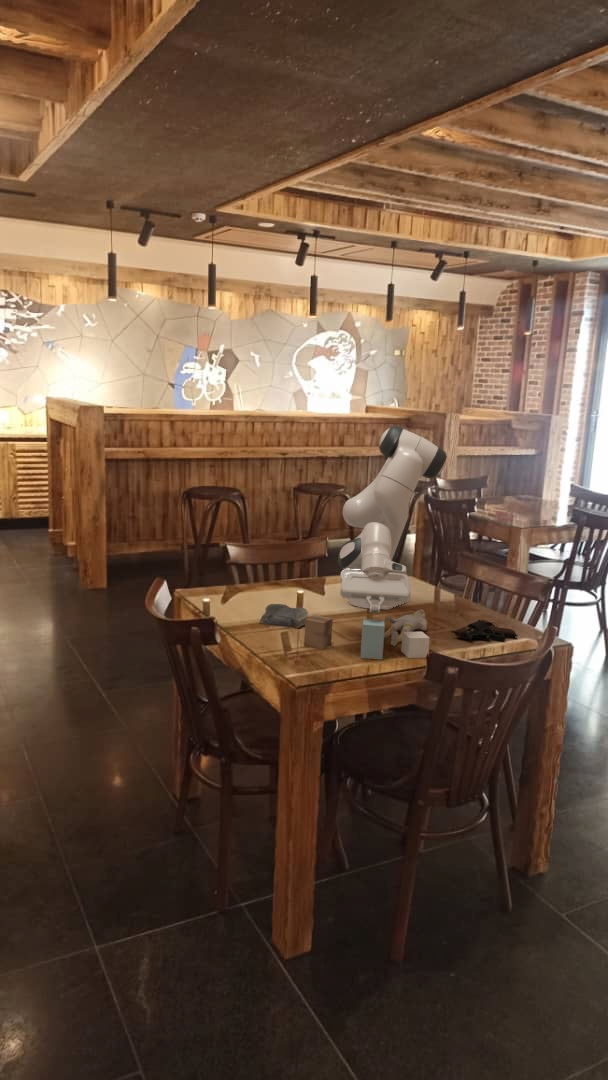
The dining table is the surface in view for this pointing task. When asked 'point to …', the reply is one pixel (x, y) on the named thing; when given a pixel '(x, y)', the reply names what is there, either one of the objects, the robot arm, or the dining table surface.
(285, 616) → the fossil
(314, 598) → the dining table surface
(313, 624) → the walnut block
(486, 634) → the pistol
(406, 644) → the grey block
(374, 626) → the teal block
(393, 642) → the figurine
